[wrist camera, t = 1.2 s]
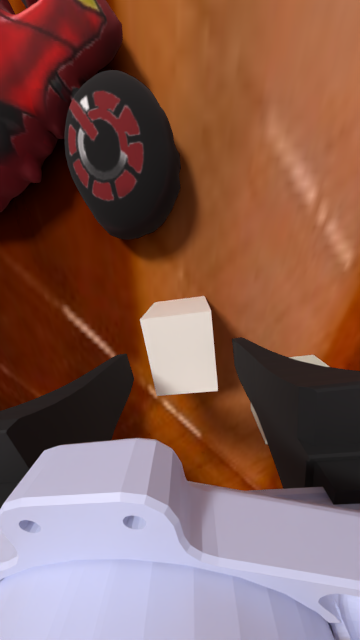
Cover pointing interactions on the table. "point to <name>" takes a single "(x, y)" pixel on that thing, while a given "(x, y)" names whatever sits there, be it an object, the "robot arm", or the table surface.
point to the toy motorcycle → (83, 115)
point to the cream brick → (180, 346)
